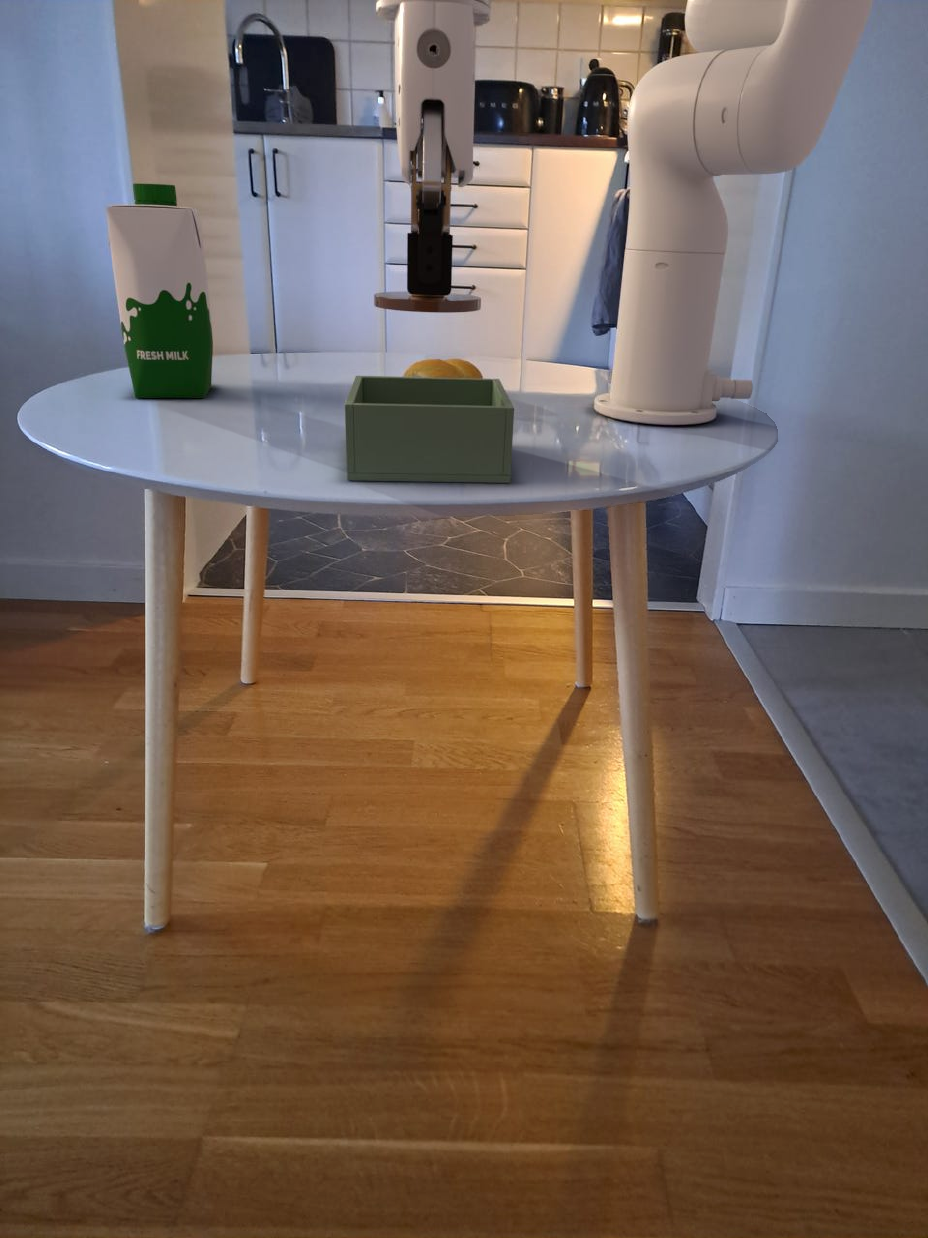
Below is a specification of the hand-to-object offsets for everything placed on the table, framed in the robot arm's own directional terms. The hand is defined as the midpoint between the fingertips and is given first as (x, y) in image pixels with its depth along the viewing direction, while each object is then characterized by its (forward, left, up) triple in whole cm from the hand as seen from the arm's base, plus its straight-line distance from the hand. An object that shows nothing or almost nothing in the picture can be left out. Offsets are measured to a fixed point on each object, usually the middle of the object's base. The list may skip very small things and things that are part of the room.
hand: (428, 290), depth 62 cm
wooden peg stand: (0, 0, -1) cm, 1 cm away
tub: (0, 0, -13) cm, 13 cm away
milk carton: (+27, -27, -13) cm, 40 cm away
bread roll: (-2, -29, -13) cm, 31 cm away
